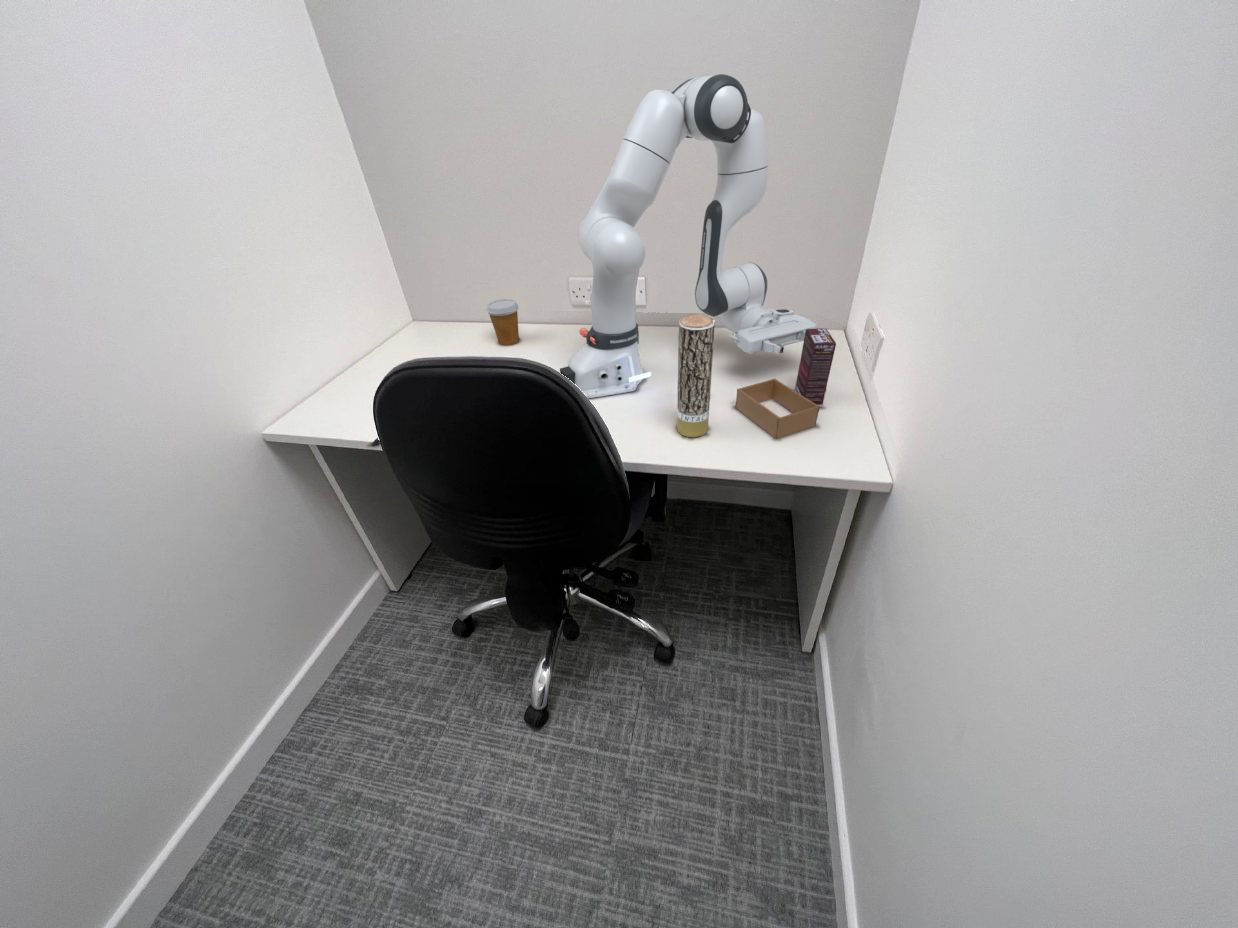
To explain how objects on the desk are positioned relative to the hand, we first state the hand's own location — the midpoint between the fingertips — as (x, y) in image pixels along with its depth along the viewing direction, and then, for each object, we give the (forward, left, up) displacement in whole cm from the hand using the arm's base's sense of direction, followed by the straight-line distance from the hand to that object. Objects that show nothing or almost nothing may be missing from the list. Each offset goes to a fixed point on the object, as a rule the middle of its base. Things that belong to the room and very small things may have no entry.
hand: (797, 346), depth 116 cm
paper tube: (-31, -5, -11) cm, 33 cm away
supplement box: (0, -6, -11) cm, 13 cm away
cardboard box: (-12, -9, -11) cm, 18 cm away
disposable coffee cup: (-55, +67, -11) cm, 87 cm away
